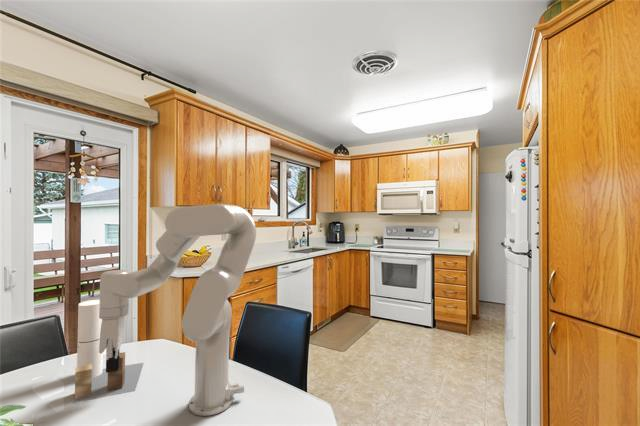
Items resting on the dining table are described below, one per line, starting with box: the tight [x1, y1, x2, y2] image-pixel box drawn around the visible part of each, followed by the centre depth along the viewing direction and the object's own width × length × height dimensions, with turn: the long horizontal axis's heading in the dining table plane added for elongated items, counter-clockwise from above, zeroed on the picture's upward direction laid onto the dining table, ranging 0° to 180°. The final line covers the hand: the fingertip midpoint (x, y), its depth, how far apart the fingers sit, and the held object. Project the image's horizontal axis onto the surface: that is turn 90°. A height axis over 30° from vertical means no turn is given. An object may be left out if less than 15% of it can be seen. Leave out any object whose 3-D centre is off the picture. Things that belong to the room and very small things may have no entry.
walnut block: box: [107, 351, 126, 391], centre depth 98 cm, size 4×4×10 cm
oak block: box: [74, 364, 92, 399], centre depth 94 cm, size 4×4×8 cm
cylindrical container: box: [76, 299, 104, 378], centre depth 105 cm, size 7×7×25 cm
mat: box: [72, 362, 144, 403], centre depth 102 cm, size 16×20×1 cm
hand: (112, 370), depth 93 cm, fingers closed
